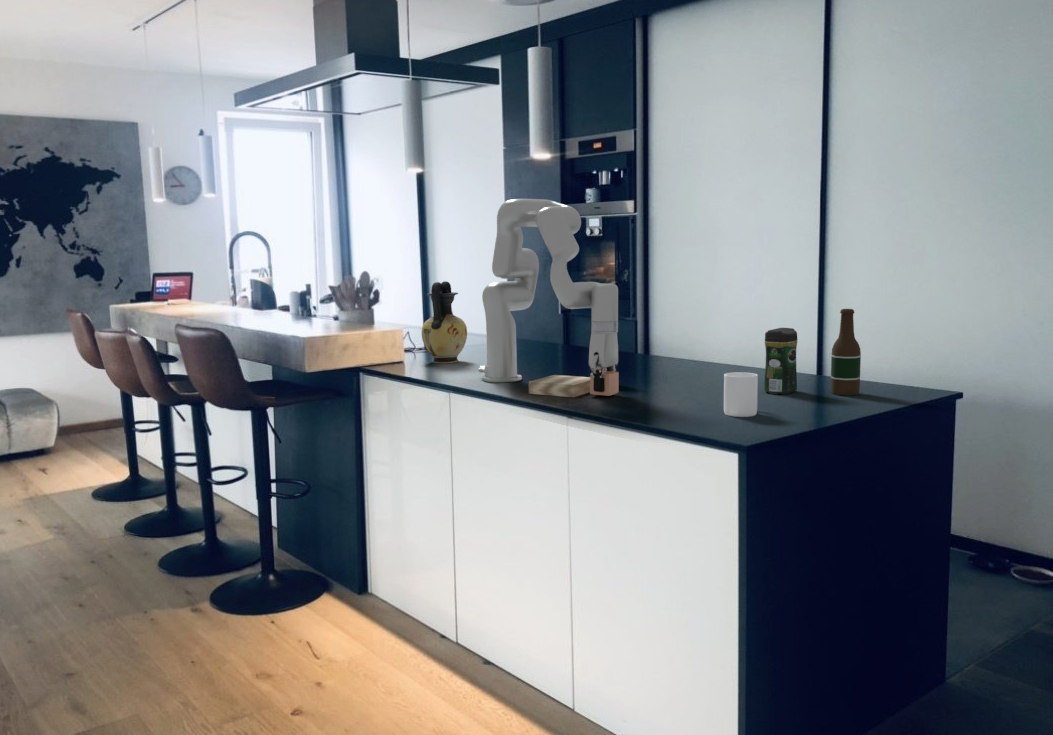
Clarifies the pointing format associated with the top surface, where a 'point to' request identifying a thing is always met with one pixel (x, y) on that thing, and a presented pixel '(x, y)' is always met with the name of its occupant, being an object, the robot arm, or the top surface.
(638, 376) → the top surface
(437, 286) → the amphora
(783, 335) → the coffee jar
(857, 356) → the beer bottle
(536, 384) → the maple block
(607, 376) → the terracotta cube
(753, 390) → the cup
